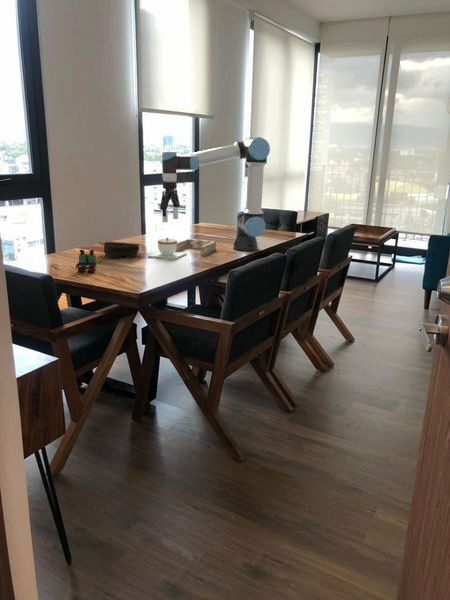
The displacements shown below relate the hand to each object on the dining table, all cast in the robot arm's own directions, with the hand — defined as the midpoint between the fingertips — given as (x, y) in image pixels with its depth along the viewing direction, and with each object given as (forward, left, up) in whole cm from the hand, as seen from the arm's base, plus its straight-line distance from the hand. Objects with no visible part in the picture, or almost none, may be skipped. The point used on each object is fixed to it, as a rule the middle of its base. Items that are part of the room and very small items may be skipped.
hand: (170, 220), depth 273 cm
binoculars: (+18, +53, -20) cm, 60 cm away
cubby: (-7, -17, -20) cm, 27 cm away
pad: (0, +3, -20) cm, 20 cm away
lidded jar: (0, +3, -19) cm, 19 cm away
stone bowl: (+23, +13, -20) cm, 33 cm away
